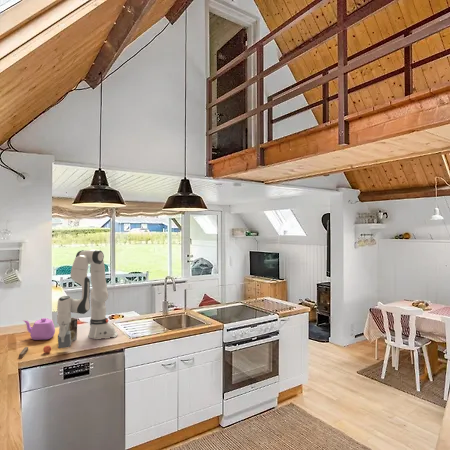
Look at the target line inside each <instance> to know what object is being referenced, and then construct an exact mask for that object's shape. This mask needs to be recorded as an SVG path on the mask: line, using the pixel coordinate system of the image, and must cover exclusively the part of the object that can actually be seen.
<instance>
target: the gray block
mask: <svg viewBox="0 0 450 450" xmlns="http://www.w3.org/2000/svg"><path fill="white" fill-rule="evenodd" d="M71 344H72V341H71V331H67V333H66V335H65V337H64V342H61V337H59V333H58V334H57V346H58V347H57V348H58V349H64V348H70V347H71Z"/></svg>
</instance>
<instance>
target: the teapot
mask: <svg viewBox="0 0 450 450" xmlns="http://www.w3.org/2000/svg"><path fill="white" fill-rule="evenodd" d="M22 321H23V322H24V323H25V326H26V331H28V333H29V334H30V339H32V340H33V341H38V340H39V341H40V340H43V341H45V340H49V339H51V338H53V337H54V335H55V333H56V328H55V324H54V321H53V319H50V318H46V317H41V319H38V320H36V321H35V322H34V323H33V325H32V326H31V325H30V322H29V321H28V320H24V319H23V320H22Z"/></svg>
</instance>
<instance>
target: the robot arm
mask: <svg viewBox="0 0 450 450" xmlns="http://www.w3.org/2000/svg"><path fill="white" fill-rule="evenodd" d="M104 258H105V255H104V252H103V251H102V250H101V249H86V250H84V249H81V250H78V251H77V253H76V255H75V258H74V260H73V263H72V266H71V269H70V278H71V280H72V281H74V282H75V283H77V284H79V285H80V286H81V299H80V298H78V299H77V298H72V297H71V296H69V295H63V296H60V297H59V298H58V301H57V304H56V305H57V307H56V308H57V309H56V310H57V311H56V312H57V315H56V324H58V325H59V330H58V334H59V337H61V342H64V337H65V335H66V333H67V330H68V328H69V323H70V322H71V318H72V314H71V313H73V314H81V315H85V314H86V313H88V312H89V310H90V309H91V310H90V319H89V326H90V328H89V330H88V331H89V332H88V335H87V337H88V338H89V339H93V340H102V339H101V338H105V339H111V338H110V337H114V338H116V337H118V332H117V331H116V330H115V327H114V325H112V324H111V323H110V322H109V319H108V318H107V317H106V312H107V307H106V306H107V305H106V302H107V300H108V299H109V292H108V284H107V282H106V281H107V280H106V279H107V278H106V268H105V261H104ZM89 265H90V266H89ZM88 267H89V268H88ZM88 269H90V270H89V271H90V278H89V277H88ZM90 281H91V282H90ZM91 287H92V289H91ZM90 289H91V290H90Z"/></svg>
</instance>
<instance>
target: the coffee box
mask: <svg viewBox="0 0 450 450" xmlns="http://www.w3.org/2000/svg"><path fill="white" fill-rule="evenodd" d="M67 331H71V342H73V341H77V340H78V319H77V318H74V317H71V322H70V323H69V328H68V330H67Z"/></svg>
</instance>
